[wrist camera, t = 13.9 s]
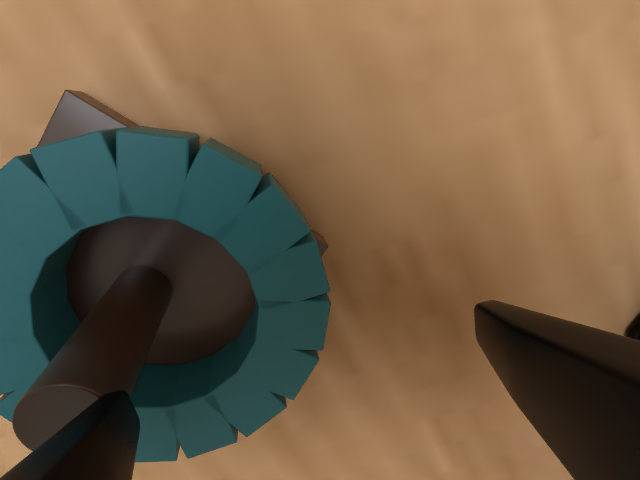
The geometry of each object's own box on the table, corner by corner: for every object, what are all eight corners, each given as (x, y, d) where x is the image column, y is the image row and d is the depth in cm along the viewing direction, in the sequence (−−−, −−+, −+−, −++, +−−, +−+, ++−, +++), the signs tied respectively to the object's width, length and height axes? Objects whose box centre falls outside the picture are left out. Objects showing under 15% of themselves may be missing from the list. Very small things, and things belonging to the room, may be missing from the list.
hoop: (371, 225, 15) (392, 246, 13) (235, 445, 17) (233, 495, 15) (62, 55, 12) (17, 42, 9) (-57, 355, 14) (-117, 403, 12)
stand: (323, 236, 16) (382, 338, 9) (203, 415, 18) (170, 620, 11) (80, 90, 13) (-130, 65, 6) (-37, 322, 15) (-311, 524, 8)
